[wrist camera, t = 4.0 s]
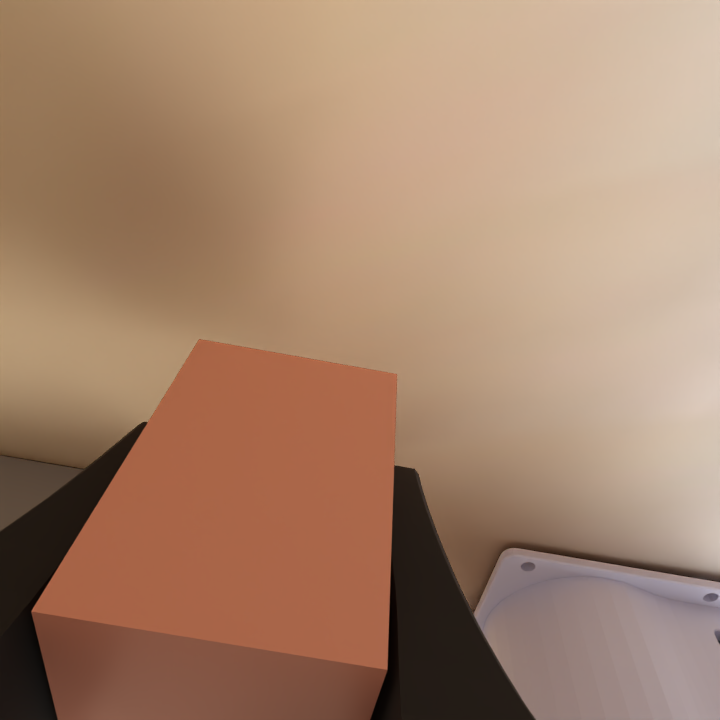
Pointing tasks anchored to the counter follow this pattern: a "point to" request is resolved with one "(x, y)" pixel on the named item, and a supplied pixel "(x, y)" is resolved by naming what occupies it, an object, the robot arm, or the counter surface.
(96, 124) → the counter surface
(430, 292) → the counter surface
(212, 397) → the plug
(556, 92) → the counter surface
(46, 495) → the dock
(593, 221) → the counter surface
